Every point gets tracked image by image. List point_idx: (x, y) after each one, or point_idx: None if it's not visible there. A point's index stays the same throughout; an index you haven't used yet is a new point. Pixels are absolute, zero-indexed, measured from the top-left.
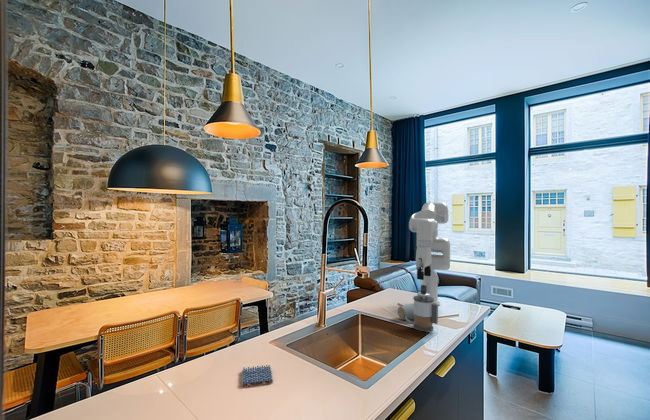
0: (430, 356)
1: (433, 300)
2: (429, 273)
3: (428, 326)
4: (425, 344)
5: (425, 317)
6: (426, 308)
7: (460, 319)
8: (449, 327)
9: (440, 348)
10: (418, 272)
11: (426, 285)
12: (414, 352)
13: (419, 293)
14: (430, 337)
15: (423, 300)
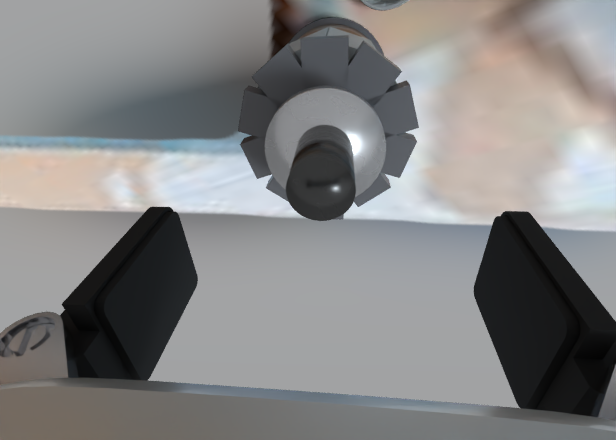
0: (103, 202)
1: None
2: (490, 321)
3: None
4: (167, 158)
5: None
6: None
7: (587, 183)
8: (426, 174)
9: (185, 208)
10: (69, 316)
11: (341, 213)
12: (74, 153)
13: (290, 122)
14: None
15: (251, 163)
